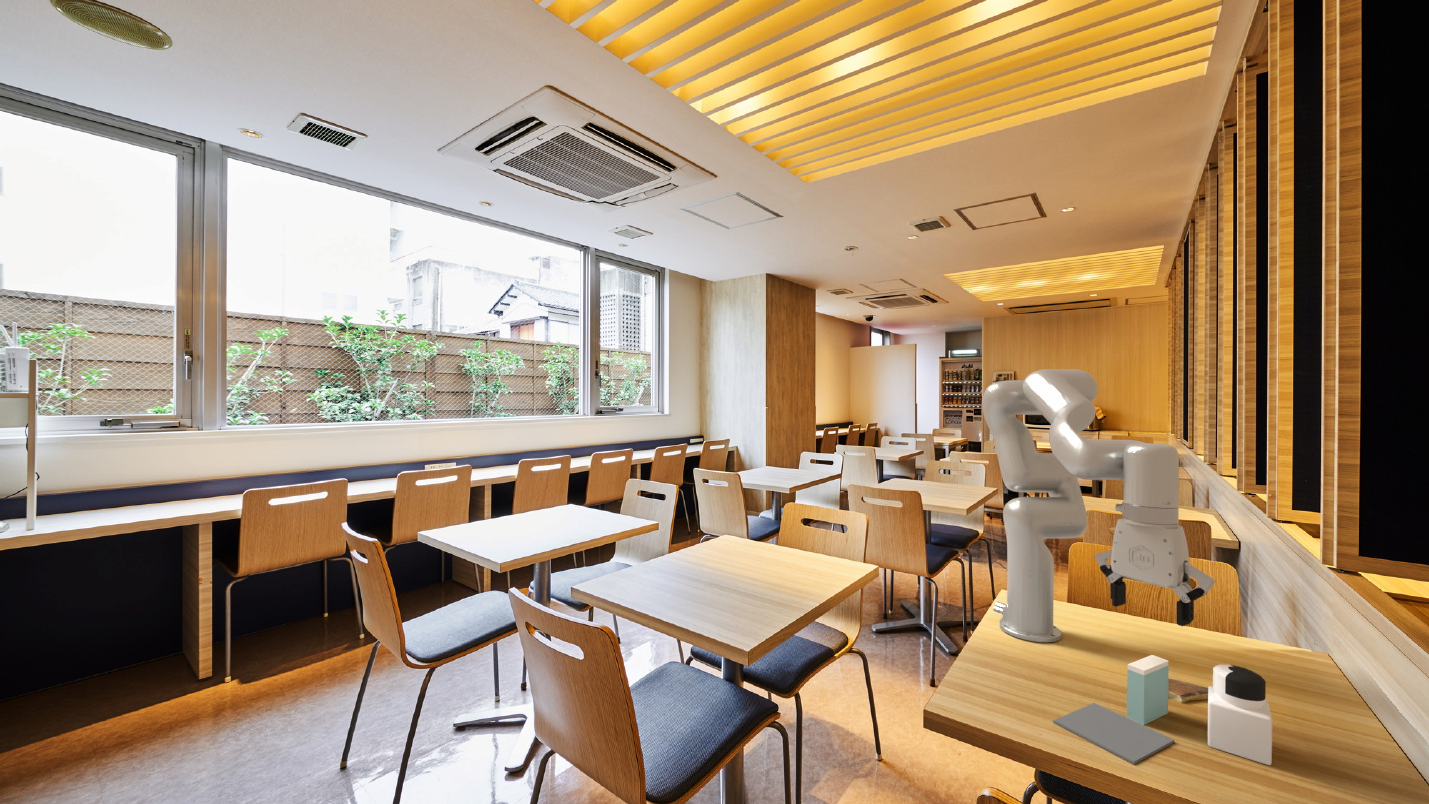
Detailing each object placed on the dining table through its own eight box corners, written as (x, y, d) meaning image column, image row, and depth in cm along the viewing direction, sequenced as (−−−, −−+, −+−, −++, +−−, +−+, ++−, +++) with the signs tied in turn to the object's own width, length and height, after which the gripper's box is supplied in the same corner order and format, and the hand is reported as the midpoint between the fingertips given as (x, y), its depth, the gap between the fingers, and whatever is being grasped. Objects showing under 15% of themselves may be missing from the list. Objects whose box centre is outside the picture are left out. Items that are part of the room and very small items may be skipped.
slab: (1126, 717, 95) (1127, 664, 95) (1151, 706, 99) (1152, 654, 99) (1143, 725, 93) (1144, 670, 93) (1168, 713, 97) (1168, 660, 97)
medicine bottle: (1267, 745, 88) (1268, 669, 88) (1271, 767, 83) (1272, 687, 82) (1207, 727, 93) (1208, 655, 93) (1207, 746, 87) (1208, 671, 87)
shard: (1224, 698, 102) (1224, 689, 102) (1231, 718, 96) (1232, 708, 96) (1149, 681, 109) (1149, 672, 109) (1152, 698, 102) (1152, 688, 102)
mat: (1053, 722, 94) (1053, 720, 94) (1094, 705, 99) (1094, 702, 99) (1133, 764, 83) (1133, 761, 83) (1174, 742, 88) (1174, 739, 88)
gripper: (1085, 508, 102) (1084, 601, 102) (1201, 527, 86) (1201, 637, 86) (1107, 505, 105) (1107, 595, 105) (1224, 522, 90) (1224, 628, 90)
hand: (1149, 614), depth 96 cm, fingers open, 9 cm apart
